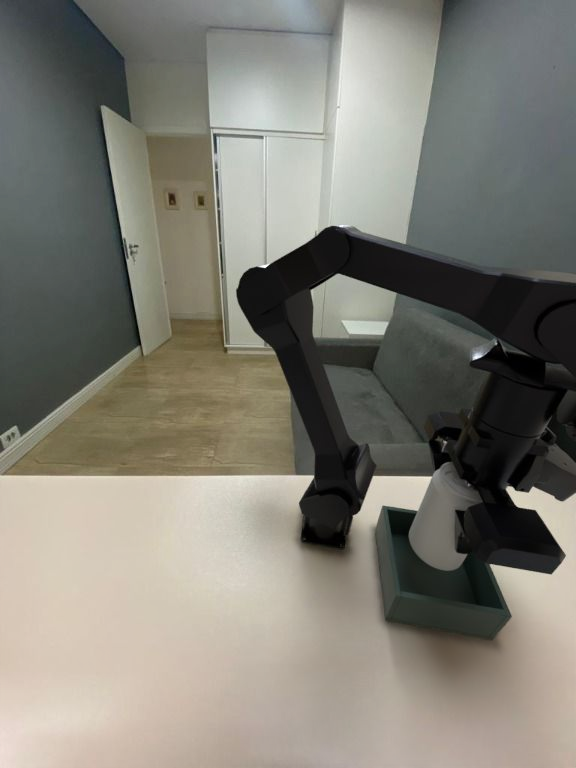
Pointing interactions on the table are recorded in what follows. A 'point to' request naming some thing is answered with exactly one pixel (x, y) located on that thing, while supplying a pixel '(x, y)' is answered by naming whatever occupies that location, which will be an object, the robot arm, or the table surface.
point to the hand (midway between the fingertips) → (450, 525)
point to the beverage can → (441, 518)
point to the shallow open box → (435, 585)
